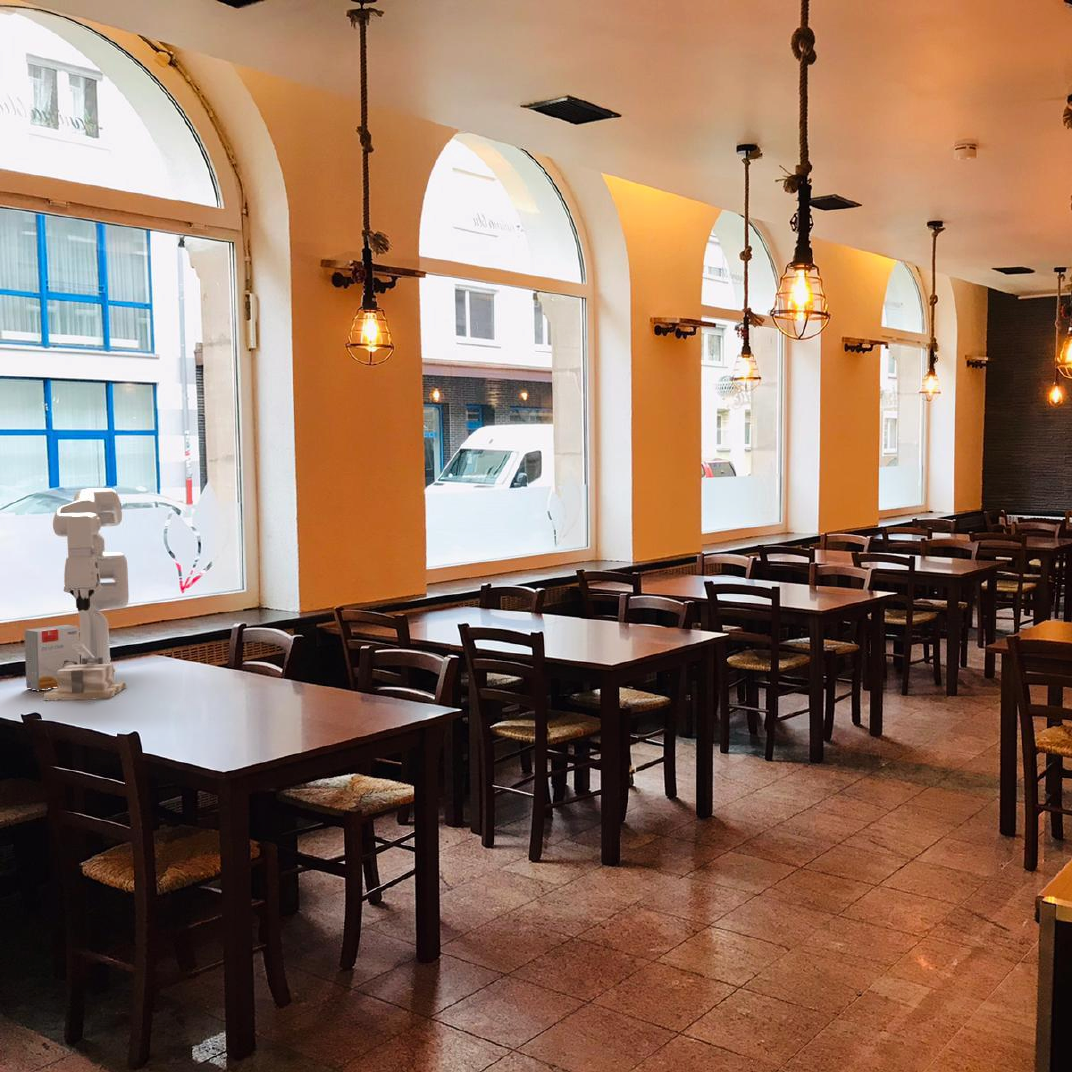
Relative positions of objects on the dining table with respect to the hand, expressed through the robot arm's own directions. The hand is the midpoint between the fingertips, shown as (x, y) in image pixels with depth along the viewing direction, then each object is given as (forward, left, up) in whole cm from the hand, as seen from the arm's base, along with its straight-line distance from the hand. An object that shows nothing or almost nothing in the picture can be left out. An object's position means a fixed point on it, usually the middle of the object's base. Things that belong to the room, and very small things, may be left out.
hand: (83, 610), depth 363 cm
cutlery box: (+1, 0, -27) cm, 27 cm away
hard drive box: (-12, -15, -27) cm, 33 cm away
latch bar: (+1, 0, -15) cm, 15 cm away
